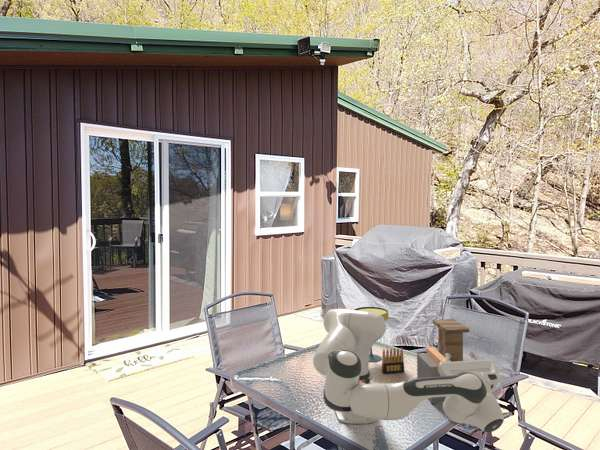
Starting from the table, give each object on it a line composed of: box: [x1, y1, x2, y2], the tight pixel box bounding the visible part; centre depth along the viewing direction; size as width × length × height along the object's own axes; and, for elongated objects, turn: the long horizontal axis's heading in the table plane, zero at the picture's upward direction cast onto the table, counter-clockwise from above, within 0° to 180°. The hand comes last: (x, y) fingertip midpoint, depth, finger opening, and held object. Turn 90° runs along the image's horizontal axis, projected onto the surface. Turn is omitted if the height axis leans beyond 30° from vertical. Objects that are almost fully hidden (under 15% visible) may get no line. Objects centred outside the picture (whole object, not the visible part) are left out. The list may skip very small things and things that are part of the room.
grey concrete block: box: [416, 352, 446, 404], centre depth 193 cm, size 16×10×15 cm, turn 5°
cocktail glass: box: [354, 306, 389, 363], centre depth 237 cm, size 18×18×25 cm
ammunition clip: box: [381, 347, 405, 375], centre depth 217 cm, size 11×2×12 cm, turn 99°
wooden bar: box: [426, 346, 446, 366], centre depth 187 cm, size 24×3×3 cm, turn 4°
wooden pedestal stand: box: [432, 318, 470, 362], centre depth 206 cm, size 16×12×26 cm
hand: (459, 353), depth 170 cm, fingers open, 8 cm apart
